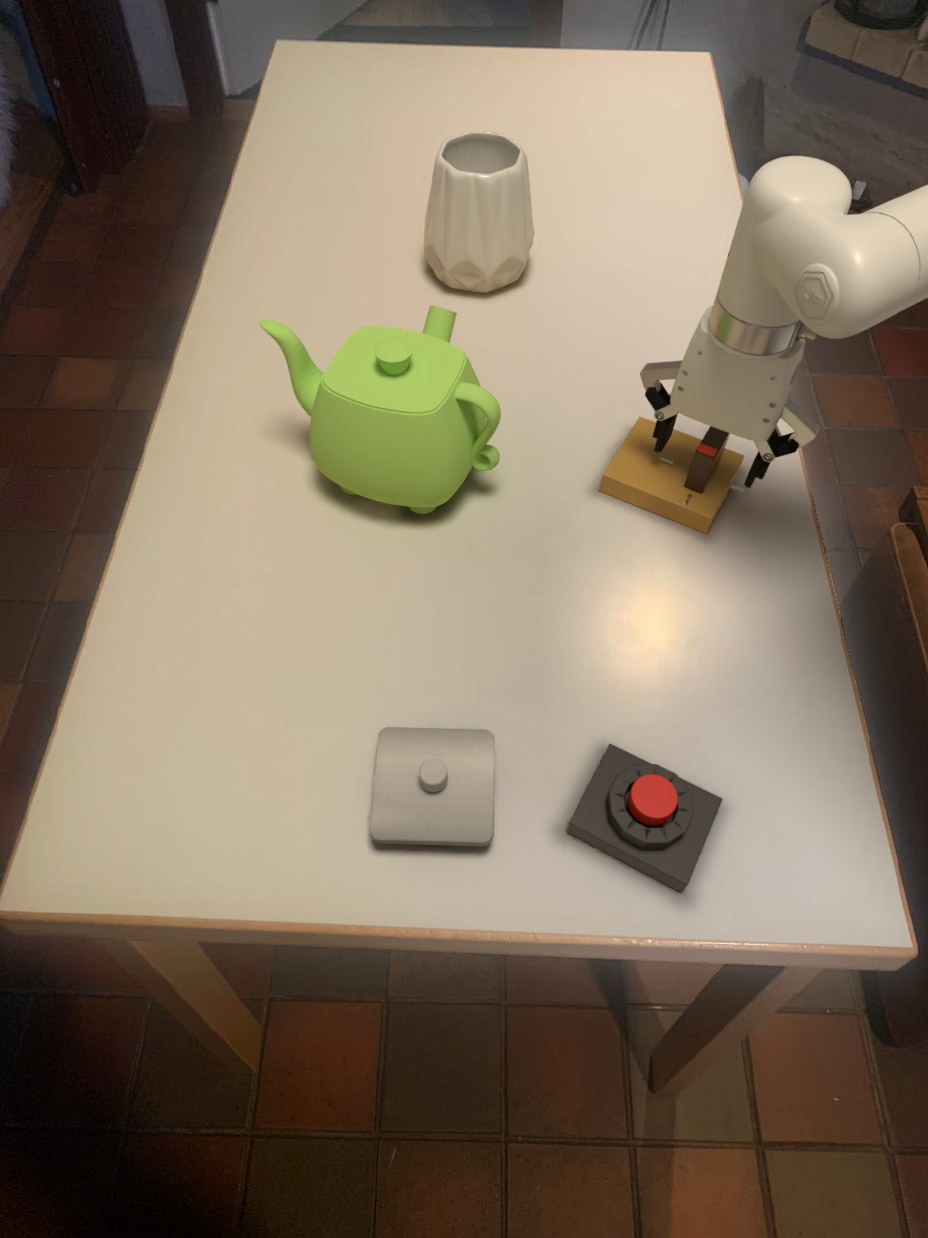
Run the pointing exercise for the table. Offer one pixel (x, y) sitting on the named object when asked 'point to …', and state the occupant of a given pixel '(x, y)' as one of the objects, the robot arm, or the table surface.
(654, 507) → the plate
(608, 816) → the button base
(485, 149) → the vase
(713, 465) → the lock knob
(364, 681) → the table surface
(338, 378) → the teapot
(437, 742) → the light switch
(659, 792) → the button
